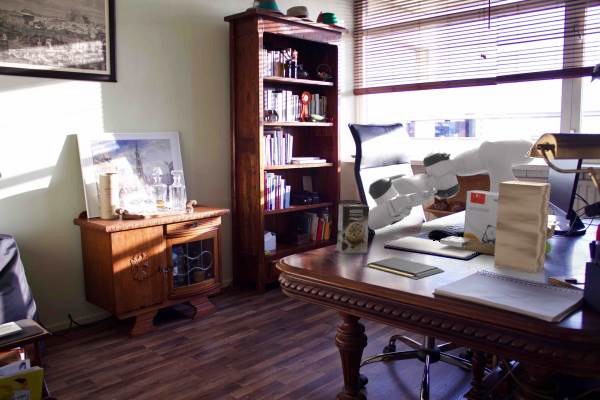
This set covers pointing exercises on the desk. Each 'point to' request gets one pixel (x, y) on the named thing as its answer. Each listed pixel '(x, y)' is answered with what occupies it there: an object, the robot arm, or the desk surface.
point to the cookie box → (353, 228)
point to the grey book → (405, 268)
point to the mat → (431, 246)
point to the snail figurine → (549, 235)
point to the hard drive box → (481, 216)
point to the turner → (469, 244)
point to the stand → (522, 225)
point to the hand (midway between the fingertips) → (429, 191)
